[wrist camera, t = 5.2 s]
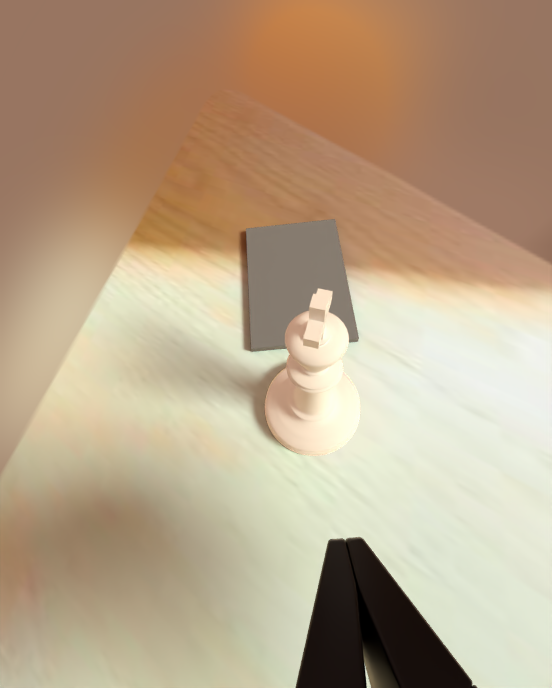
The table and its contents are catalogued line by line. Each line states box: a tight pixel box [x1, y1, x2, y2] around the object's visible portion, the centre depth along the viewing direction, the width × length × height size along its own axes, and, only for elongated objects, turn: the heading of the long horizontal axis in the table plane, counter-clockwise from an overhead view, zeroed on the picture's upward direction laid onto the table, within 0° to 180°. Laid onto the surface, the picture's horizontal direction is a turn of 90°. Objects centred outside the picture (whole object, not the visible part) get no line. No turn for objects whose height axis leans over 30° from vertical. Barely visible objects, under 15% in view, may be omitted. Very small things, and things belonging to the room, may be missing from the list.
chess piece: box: [265, 288, 360, 456], centre depth 14 cm, size 5×5×10 cm
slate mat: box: [246, 219, 359, 352], centre depth 21 cm, size 9×6×1 cm, turn 4°
